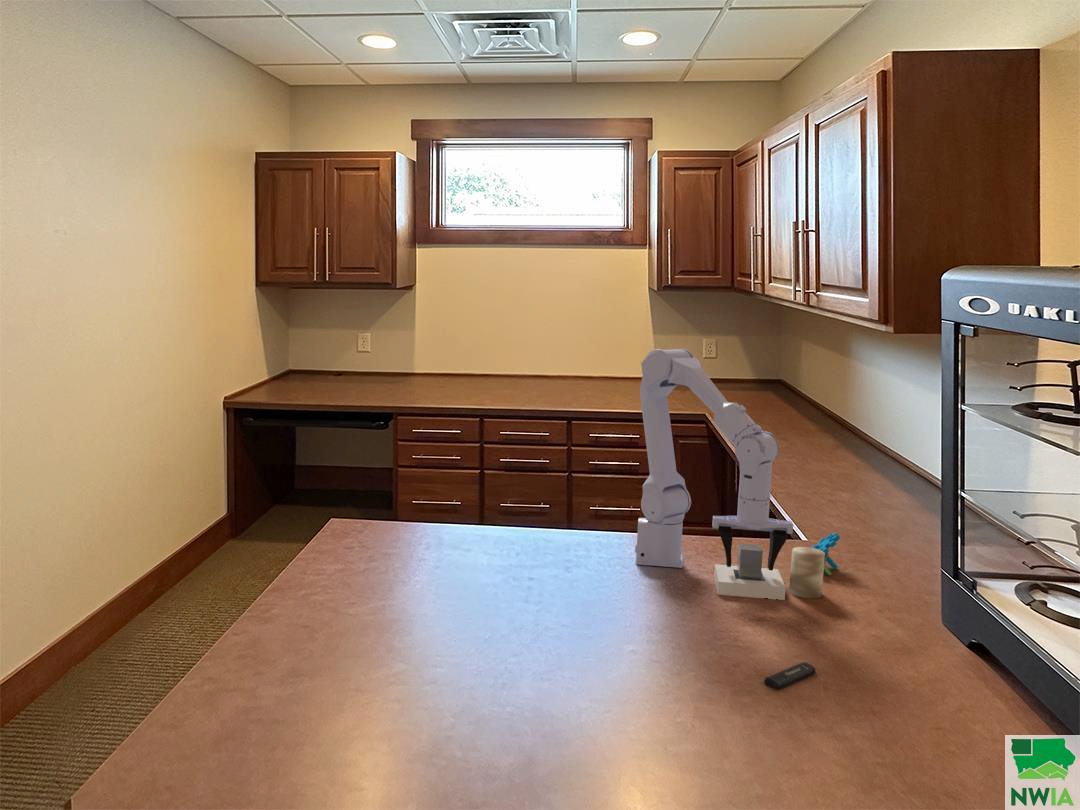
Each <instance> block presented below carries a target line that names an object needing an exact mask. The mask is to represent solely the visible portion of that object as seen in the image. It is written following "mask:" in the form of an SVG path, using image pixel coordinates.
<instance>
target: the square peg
mask: <svg viewBox="0 0 1080 810" xmlns="http://www.w3.org/2000/svg"><path fill="white" fill-rule="evenodd" d="M763 552H764V551H763V548H762V545H761V544H755V543H744V542H743V543H742V542H739V543H738V551H737V564H736V566H737V578H736V579H743V580H756V581H761V569H762V568H763V567H762V566H763Z"/></svg>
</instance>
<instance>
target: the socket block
mask: <svg viewBox="0 0 1080 810" xmlns="http://www.w3.org/2000/svg"><path fill="white" fill-rule="evenodd" d="M713 575H714V576H713V577H715V578H714V581H715V582H714V583H715V588H716V593H718V594H717V595H719V596H729V597H730V596H731V597H742V598H753V599H764V598H768V599H767V600H776V599H778V600H777V601H779V600H781V601H785V600H786V599H785V598H786V584H785V583H784V580H783V578H782V575H781V573H780V571H779V569H778V568H773V570H769V569H768V567H762V569H761V581H756V580H743V579H736V578H737V565H731V567H727V564H718V563H716V564H714V573H713Z"/></svg>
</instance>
